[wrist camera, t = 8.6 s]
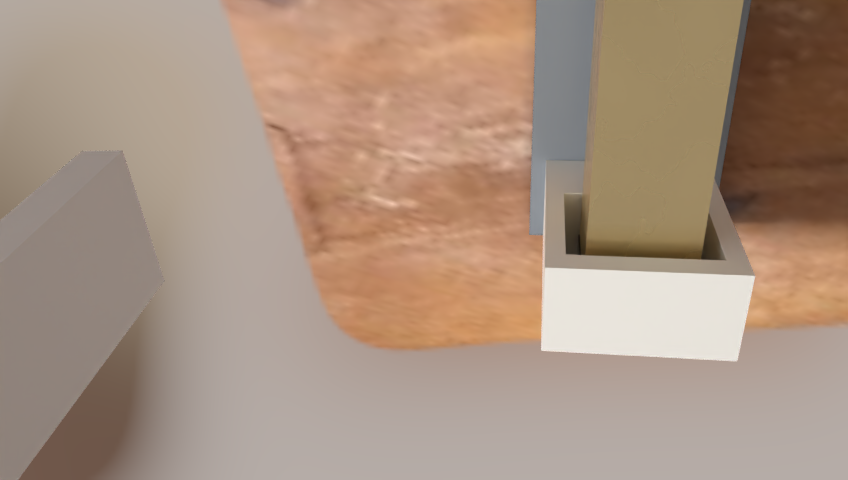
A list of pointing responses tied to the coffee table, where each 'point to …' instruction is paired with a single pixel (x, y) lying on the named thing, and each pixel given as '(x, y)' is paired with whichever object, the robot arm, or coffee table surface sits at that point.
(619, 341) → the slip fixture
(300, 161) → the coffee table surface
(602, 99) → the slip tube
